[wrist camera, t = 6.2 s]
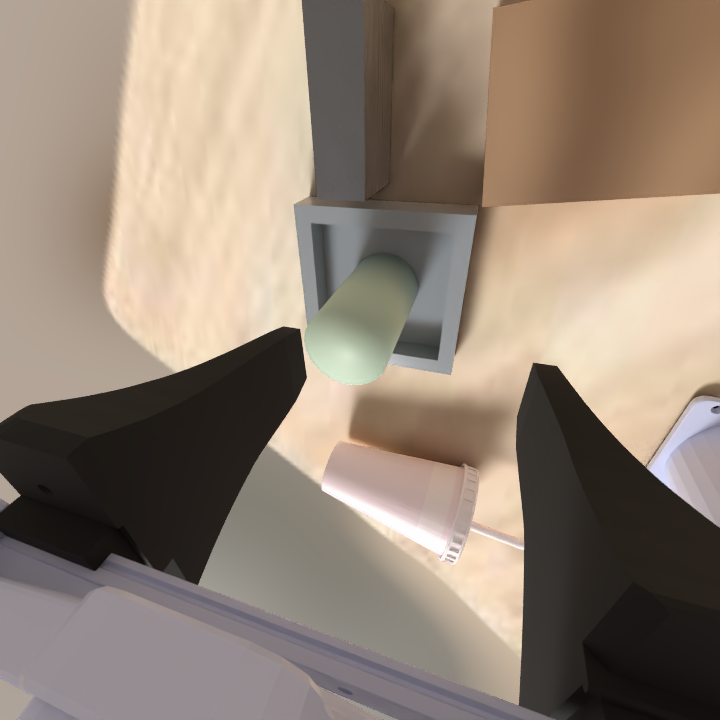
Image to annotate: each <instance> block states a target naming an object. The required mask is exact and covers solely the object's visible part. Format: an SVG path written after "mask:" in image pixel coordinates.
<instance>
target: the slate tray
mask: <svg viewBox="0 0 720 720" xmlns="http://www.w3.org/2000/svg"><path fill="white" fill-rule="evenodd" d="M478 207H479V206H478V205H459V204H440V203H421V202H402V201H383V200H366V201H346V200H328V199H317V197H307V198H305V199H303V200H302V201H300V202H298V203H296V204H294V212H295V220H296V229H297V238H298V247H299V256H300V265H301V274H302V282H303V291H304V300H305V309H306V318H307V326H308V324H309V322H310V321H311V320H312V319H313V317H314V316H315V315H316V314H317V313H318V312H319V310H320V309H321V308H322V307H323V306H324V305H325V303H326V302H327V301H328V300H329V299H330V298H331V296H332V295H333V294H334V293H335V292H336V291H337V289H338V288H339V287H340V286H341V285H342V284H343V282H344V281H345V280H346V279H347V278H348V277H349V275H350V274H351V273H352V272H353V271H354V270H355V268H356V267H357V266H358V265H359V264H360V263H361V262H362V261H363V260H364V259H365V258H367V257H368V256H371V255H373V254H378V253H388V254H393V255H395V256H398V257H400V258H401V259H403V260H404V261H406V262H407V263H408V264H409V265H410V267H411V268H412V269H413V271H414V273H415V275H416V278H417V282H418V292H417V296H416V299H415V301H414V304H413V306H412V308H411V311H410V313H409V315H408V318H407V320H406V322H405V325H404V327H403V329H402V332H401V334H400V336H399V339H398V341H397V343H396V346H395V348H394V350H393V353H392V355H391V357H390V360H389V362H388V364H389V365H395V366H401V367H407V368H413V369H418V370H424V371H430V372H436V373H442V374H448V375H451V372H452V367H453V361H454V356H455V350H456V343H457V337H458V331H459V325H460V319H461V312H462V306H463V300H464V294H465V288H466V282H467V275H468V269H469V263H470V257H471V251H472V245H473V238H474V232H475V226H476V220H477V214H478Z"/></svg>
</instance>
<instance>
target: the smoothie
mask: <svg viewBox="0 0 720 720" xmlns="http://www.w3.org/2000/svg"><path fill="white" fill-rule="evenodd" d="M478 486H479V472H478V470H477V469H476V468H473V467H470V466H468V465H466V464H463V465H462V466H461V467H457V466H452V465H448V464H444V463H440V462H435V461H430V460H425V459H421V458H416V457H411V456H407V455H402V454H398V453H393V452H388V451H384V450H379V449H375V448H370V447H365V446H361V445H356V444H352V443H347V442H342V441H340V442H338V443H337V445H336V446H335V448H334V450H333V451H332V453H331V456H330V458H329V460H328V463H327V466H326V469H325V472H324V476H323V480H322V491H324V492H326V493H328V494H329V495H331V496H333V497H335V498H337V499H338V500H340V501H342V502H344V503H346V504H347V505H349V506H351V507H353V508H355V509H357V510H358V511H360V512H362V513H364V514H366V515H367V516H369V517H371V518H373V519H375V520H377V521H378V522H380V523H382V524H384V525H386V526H387V527H389V528H391V529H393V530H395V531H397V532H398V533H400V534H402V535H404V536H406V537H407V538H409V539H411V540H412V541H414V542H416V543H418V544H420V545H422V546H424V547H426V548H428V549H429V550H431V551H433V552H435V553H437V554H438V559H439V561H444V562H446V563H449V564H451V565H454V564H456V563H457V561H458V560H459V558H460V556H461V553H462V551H463V549H464V546H465V543H466V540H467V537H468V533H469V530H472V531H475V532H477V533H480V534H482V535H485V536H488V537H490V538H493V539H496V540H498V541H501V542H503V543H506V544H509V545H511V546H514V547H517V548H519V549H522V550H524V541H523V540H521V539H518V538H515V537H513V536H510V535H507V534H505V533H502V532H499V531H497V530H494V529H491V528H489V527H486V526H483V525H481V524H478V523H475V522H473V521H472V519H473V514H474V510H475V505H476V500H477V494H478Z"/></svg>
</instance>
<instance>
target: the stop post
mask: <svg viewBox="0 0 720 720" xmlns="http://www.w3.org/2000/svg"><path fill="white" fill-rule="evenodd" d="M302 9H303V22H304V35H305V48H306V61H307V74H308V87H309V100H310V113H311V125H312V138H313V151H314V164H315V177H316V190H317V199H328V200H346V201H366V200H368V199H369V198H370V197H372V196H373V195H374V194H375V193H377V192H378V191H379V190H381V189H382V188H383V187H384V186H386V185H387V184H388V183H389V180H390V144H391V109H392V73H393V38H394V8H393V7H392V6H391V5H389V4H388V3H387V2H386V1H385V0H302Z"/></svg>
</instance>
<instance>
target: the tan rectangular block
mask: <svg viewBox="0 0 720 720" xmlns="http://www.w3.org/2000/svg"><path fill="white" fill-rule="evenodd" d="M718 193H720V0H528V1H523V2H519V3H514V4H509V5H505V6H500V7H496V8H493V24H492V42H491V59H490V76H489V94H488V111H487V128H486V146H485V163H484V181H483V198H482V207H492V206H509V205H527V204H544V203H561V202H579V201H596V200H614V199H631V198H648V197H666V196H683V195H701V194H718Z"/></svg>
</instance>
